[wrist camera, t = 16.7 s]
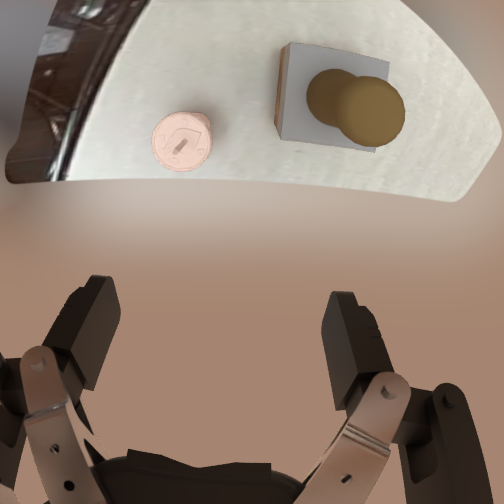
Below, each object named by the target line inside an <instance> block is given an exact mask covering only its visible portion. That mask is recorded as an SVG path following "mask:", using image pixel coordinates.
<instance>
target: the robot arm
mask: <svg viewBox="0 0 504 504" xmlns="http://www.w3.org/2000/svg"><path fill="white" fill-rule="evenodd" d="M120 311H121V310H120V304H119V301H118V297H117V293H116V289H115V285H114V281H113V279H112V277H110V276H101V275H92V276H91V277H90V278H89V280H88V282H87V283H86V285H85V286H84V287H79V288H78V289H77V290H76V291H74V292H73V293H72V294H71V295H70V296H69V298H68V299H67V301H66V303H65V304H64V307H63V308H62V309H61V311H60V314H59V315H58V316H57V318H56V320H55V322H54V323H53V325H52V327H51V329H50V331H49V333H48V334H47V336H46V338H45V340H44V342H43V344H42V345H41V346H35V347H32V348H31V349H29V350H28V351H26V352H25V353H24V355H23V357H22V358H11V359H10V358H9V359H4V357H3V356H2V354H1V353H0V403H1V404H0V504H19V502H18V501H17V498H16V495H15V493H14V492H13V491H14V486H15V481H16V476H17V472H18V467H19V463H20V459H21V455H22V451H23V447H24V444H25V440H26V437H28V440H29V444H30V447H31V451H32V454H33V457H34V461H35V463H36V466H37V470H38V473H39V475H40V478H41V481H42V483H43V486H44V489H45V492H46V494H47V496H48V499H49V500H48V501H47V502H45V503H44V504H364V503H365V501H366V499H367V498H368V496H369V494H370V492H371V491H372V489H373V487H374V485H375V484H376V482H377V480H378V478H379V476H380V474H381V472H382V470H383V469H384V467H385V465H386V463H387V461H388V459H389V456H390V450H389V445H390V443H396V444H398V447H399V454H400V460H401V466H402V472H403V480H404V487H405V495H406V503H407V504H493V498H492V493H491V487H490V483H489V478H488V473H487V469H486V465H485V461H484V457H483V453H482V449H481V446H480V442H479V438H478V435H477V432H476V428H475V425H474V422H473V419H472V415H471V412H470V409H469V406H468V403H467V400H466V398H465V395H464V393H463V392H462V391H461V390H460V389H459V388H458V387H457V386H455V385H453V384H450V383H443V384H440V385H438V386H437V387H436V389H435V390H434V391H428V390H422V389H417V388H412V387H410V386H409V384H408V382H407V381H406V380H405V379H404V378H403V377H402V376H401V375H399V374H397V373H395V372H394V369H393V366H392V364H391V361H390V358H389V355H388V352H387V349H386V347H385V344H384V341H383V339H382V338H381V333H380V331H379V329H378V325H377V322H376V320H375V317H374V315H373V314H372V313H371V312H370V311H369V310H368V309H367V307H366V306H358V303H357V300H356V298H355V295H354V293H353V292H344V291H343V292H342V291H333V292H332V293H331V295H330V298H329V301H328V305H327V308H326V311H325V314H324V318H323V321H322V329H321V334H322V340H323V345H324V350H325V355H326V360H327V366H328V371H329V376H330V381H331V387H332V392H333V398H334V404H335V409H336V411H337V410H346V414H347V418H346V420H345V421H344V423H343V424H342V426H341V428H340V430H339V431H338V432H337V434H336V436H335V437H334V439H333V440H332V442H331V443H330V445H329V446H328V448H327V449H326V451H325V452H324V453H323V455H322V456H321V458H320V459H319V460H318V462H317V463H316V464H315V466H314V467H313V468H312V469H311V471H310V472H309V473H308V475H307V476H306V477H305V479H304V480H303V481H302V483H301V482H299V481H298V480H296V479H294V478H293V477H290V476H288V475H286V474H283V473H280V472H277V471H273V470H271V463H238V462H234V463H229V464H222V465H216V466H210V467H202V468H196V467H192V466H189V465H186V464H184V463H181V462H178V461H176V460H173V459H170V458H168V457H165V456H163V455H159V454H153V453H147V452H141V451H136V450H131V449H128V452H127V456H123V457H116V458H112V459H110V457H109V455H108V453H107V452H106V450H105V449H104V447H103V446H102V444H101V442H100V441H99V439H98V437H97V435H96V432H95V430H94V428H93V425H92V423H91V420H90V418H89V416H88V413H87V410H86V408H85V405H84V403H83V400H82V398H81V393H82V390H83V389H87V390H91V391H94V388H95V385H96V382H97V379H98V376H99V373H100V371H101V368H102V365H103V362H104V359H105V357H106V354H107V352H108V349H109V346H110V344H111V341H112V339H113V336H114V334H115V331H116V329H117V326H118V324H119V321H120V314H121V312H120Z"/></svg>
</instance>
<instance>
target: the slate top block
mask: <svg viewBox="0 0 504 504" xmlns="http://www.w3.org/2000/svg"><path fill="white" fill-rule="evenodd" d="M389 64H390V62H387V61H384V60H380V59H376V58H372V57H368V56H364V55H360V54H356V53H351V52H346V51H342V50H337V49H331V48H326V47H320V46H314V45H308V44H301V43H293V42H290V43H289V44H288V45H286V46H285V55H284V66H283V76H282V86H281V97H280V107H279V117H278V127H277V131H278V134H279V136H280V139H281V140H288V141H297V142H306V143H314V144H322V145H330V146H337V147H344V148H350V149H356V150H363V151H368V152H374V153H375V150H376V147H364V146H362V145H359V144H356V143H354V142H352V141H351V140H350V139H348V138H347V137H346V136H345V135H343V133H342V132H341V130H340V129H339V128H336V127H332V126H329V125H326V124H323V123H322V122H320V121H319V120H317V119H316V118H315V117H314V116H313V114H312V113H311V112H310V110H309V107H308V105H307V102H306V92H307V88H308V85H309V83H310V82H311V80H312V79H313V77H314V76H316V75H317V74H319V73H320V72H321V71H324V70H328V69H342V70H345V71H347V72H350V73H352V74H353V75H355V76H357V77H359V76H372V77H378V78H380V79H382V80H385V81H387V79H388V72H389Z"/></svg>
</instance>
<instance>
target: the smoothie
mask: <svg viewBox="0 0 504 504" xmlns="http://www.w3.org/2000/svg"><path fill="white" fill-rule="evenodd" d="M151 144H152V150H153V153H154V155H155V157H156V159H157V160H158V161H159V162H160V163H161V164H162V165H163V166H165V167H166V168H168V169H170V170H173V171H178V172H185V171H190V170H193V169H195V168H197V167H198V166H200V165H201V164H202V163H203V162H204V161H205V160H206V159H207V157H208V156H209V154H210V152H211V148H212V144H213V141H212V134H211V131H210V121H209V119H208V118H207V117H206V116H205V115H204V114H202V113H188V112H176V113H173V114H170V115H168V116H167V117H165V118H164V119H162V120H161V122H159V124H158V125H157V126H156V128H155V129H154V132H153V135H152V140H151Z"/></svg>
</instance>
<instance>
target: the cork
mask: <svg viewBox="0 0 504 504" xmlns="http://www.w3.org/2000/svg"><path fill="white" fill-rule="evenodd" d="M306 102H307V105H308V107H309V110H310V112H311V113H312V114H313V116H314V117H315V118H316V119H317V120H319V121H320V122H322V123H323V124H326V125H329V126H332V127H336V128H339V129H340V130H341V132H342V133H343V135H345V136H346V137H347V138H348V139H350V140H351V141H352V142H354V143H356V144H359V145H362V146H364V147H379V146H382V145H386V144H388V143H389V142H391V141H392V140H394V139H395V138H396V137H397V135H398V134H399V133H400V131H401V130H402V127H403V124H404V121H405V108H404V104H403V100H402V98H401V96H400V95H399V93H398V91H397V90H396V89H395V88H393V87H392V86H391V85H390V84H389V83H388V82H387V81H385V80H382V79H380V78H378V77H372V76H359V77H357V76H355V75H353V74H352V73H350V72H347V71H345V70H342V69H328V70H324V71H321V72H320V73H319V74H317V75H316V76H314V77H313V79H312V80H311V82H310V83H309V85H308V88H307V92H306Z"/></svg>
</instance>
